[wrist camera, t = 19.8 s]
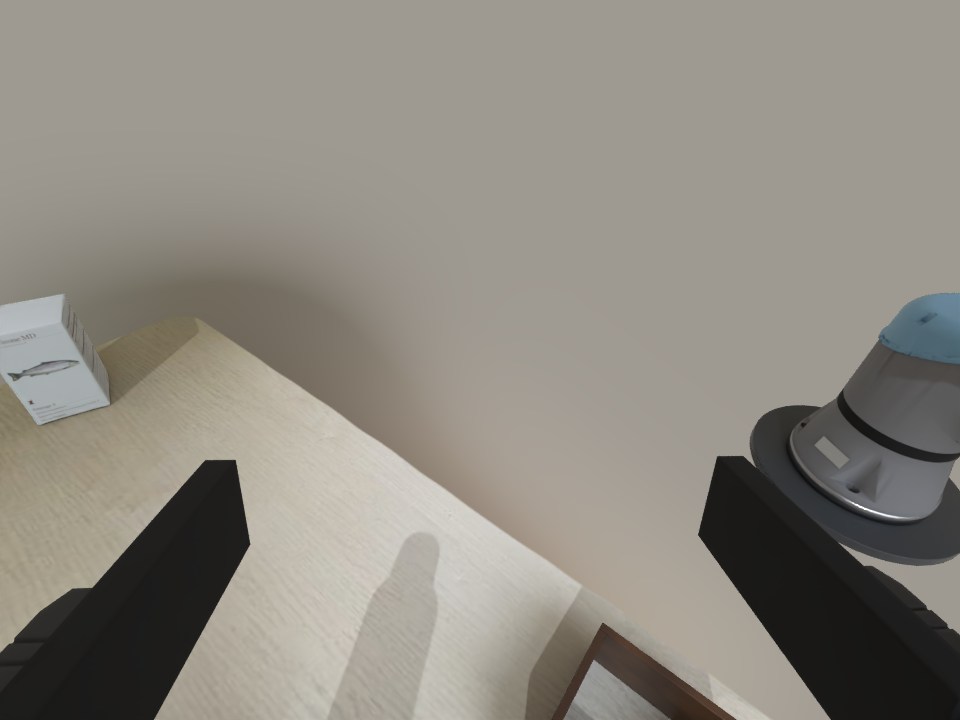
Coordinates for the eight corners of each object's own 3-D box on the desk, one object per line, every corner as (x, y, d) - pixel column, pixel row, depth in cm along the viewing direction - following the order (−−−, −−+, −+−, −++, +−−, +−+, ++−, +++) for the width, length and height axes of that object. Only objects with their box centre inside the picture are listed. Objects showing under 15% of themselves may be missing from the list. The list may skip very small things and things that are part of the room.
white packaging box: (37, 427, 55) (-30, 340, 47) (41, 391, 59) (-19, 306, 52) (112, 406, 58) (61, 321, 50) (111, 373, 63) (64, 290, 55)
